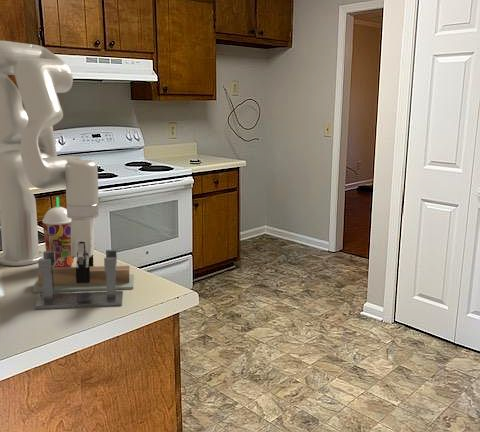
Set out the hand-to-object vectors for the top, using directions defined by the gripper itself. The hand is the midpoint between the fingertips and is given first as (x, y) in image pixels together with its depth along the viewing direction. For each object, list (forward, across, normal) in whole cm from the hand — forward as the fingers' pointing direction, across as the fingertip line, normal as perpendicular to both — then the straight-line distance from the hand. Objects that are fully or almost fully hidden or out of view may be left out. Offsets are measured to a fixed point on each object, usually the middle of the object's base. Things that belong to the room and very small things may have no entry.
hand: (85, 275), depth 126 cm
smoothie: (+2, -14, -8) cm, 16 cm away
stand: (+2, +11, 0) cm, 11 cm away
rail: (+2, 0, 0) cm, 2 cm away
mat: (+2, 0, 0) cm, 2 cm away
